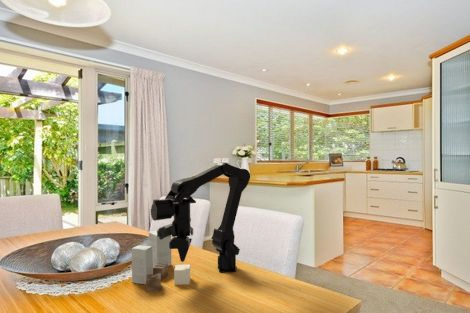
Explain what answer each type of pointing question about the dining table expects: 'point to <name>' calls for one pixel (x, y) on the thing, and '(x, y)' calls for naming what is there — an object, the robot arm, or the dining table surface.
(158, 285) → the walnut block
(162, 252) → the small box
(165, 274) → the walnut block
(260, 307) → the dining table surface
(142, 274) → the skincare box
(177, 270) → the cream block
